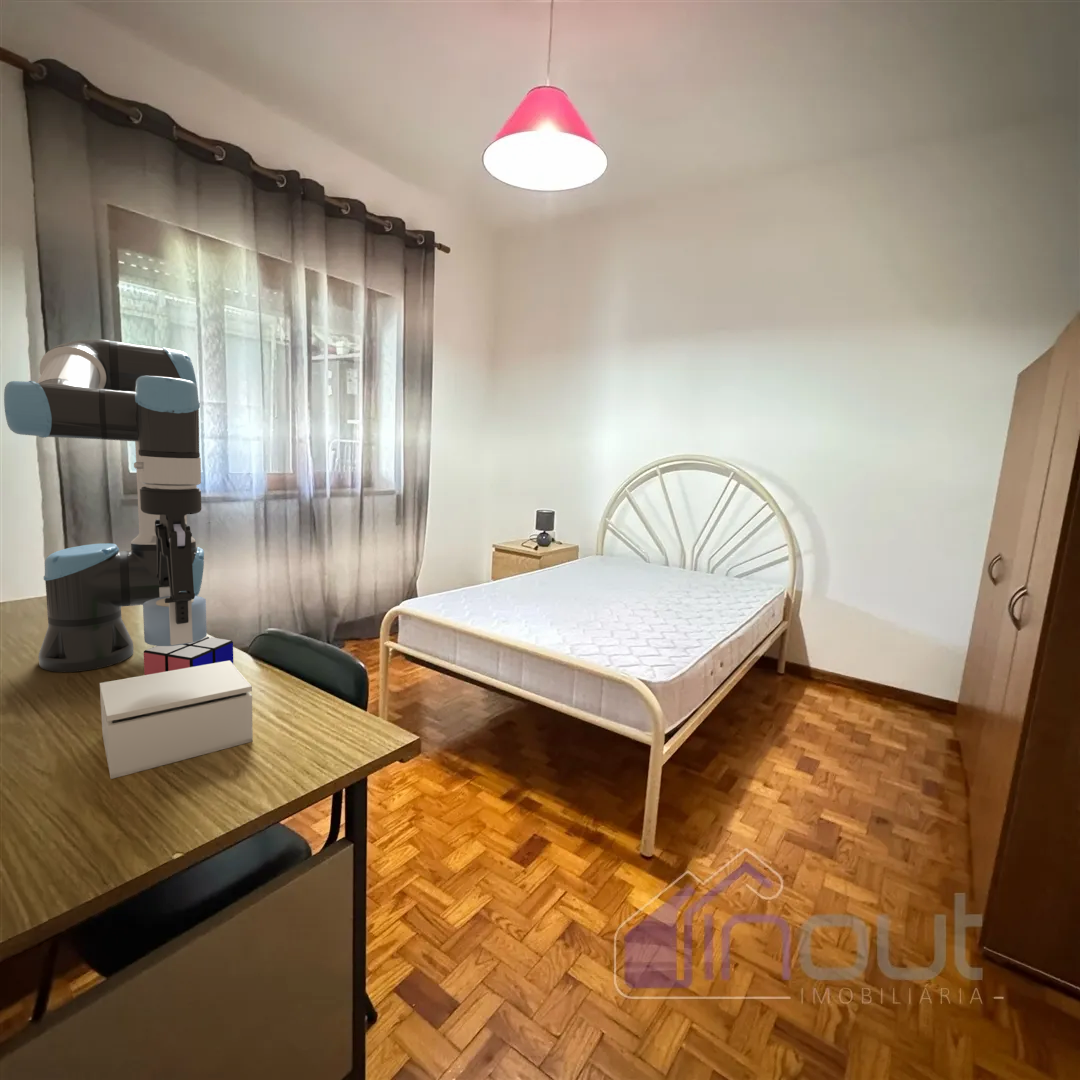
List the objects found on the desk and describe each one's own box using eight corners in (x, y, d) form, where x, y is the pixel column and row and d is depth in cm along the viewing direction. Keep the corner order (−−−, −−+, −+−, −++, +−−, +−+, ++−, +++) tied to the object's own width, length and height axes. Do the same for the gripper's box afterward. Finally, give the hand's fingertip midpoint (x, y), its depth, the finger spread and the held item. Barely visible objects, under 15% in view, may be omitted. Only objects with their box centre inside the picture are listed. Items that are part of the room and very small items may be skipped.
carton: (102, 736, 88) (99, 689, 86) (230, 707, 99) (230, 665, 98) (110, 779, 77) (107, 726, 76) (252, 741, 89) (252, 695, 88)
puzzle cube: (193, 713, 97) (191, 658, 95) (144, 704, 98) (141, 650, 97) (235, 690, 106) (234, 640, 105) (189, 682, 108) (188, 633, 106)
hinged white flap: (99, 688, 86) (99, 683, 86) (230, 664, 98) (229, 660, 98) (107, 721, 76) (106, 716, 76) (251, 691, 88) (251, 686, 88)
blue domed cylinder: (141, 633, 86) (139, 597, 85) (200, 625, 91) (199, 591, 90) (148, 649, 80) (146, 611, 79) (211, 640, 85) (211, 604, 85)
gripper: (130, 479, 87) (137, 619, 91) (150, 493, 72) (157, 661, 76) (187, 480, 92) (191, 613, 96) (216, 493, 77) (219, 651, 81)
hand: (176, 634), depth 86 cm, fingers closed on blue domed cylinder, 8 cm apart
